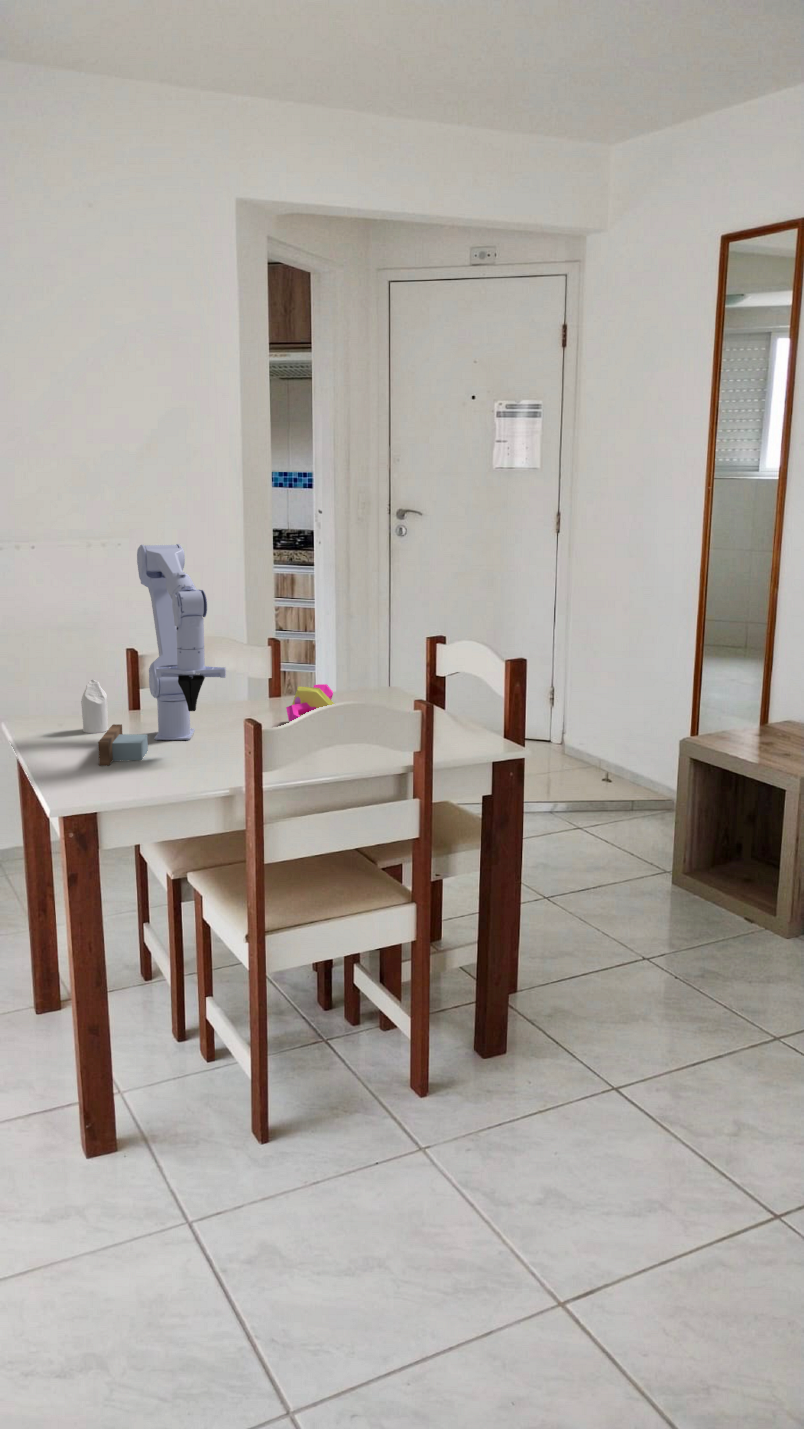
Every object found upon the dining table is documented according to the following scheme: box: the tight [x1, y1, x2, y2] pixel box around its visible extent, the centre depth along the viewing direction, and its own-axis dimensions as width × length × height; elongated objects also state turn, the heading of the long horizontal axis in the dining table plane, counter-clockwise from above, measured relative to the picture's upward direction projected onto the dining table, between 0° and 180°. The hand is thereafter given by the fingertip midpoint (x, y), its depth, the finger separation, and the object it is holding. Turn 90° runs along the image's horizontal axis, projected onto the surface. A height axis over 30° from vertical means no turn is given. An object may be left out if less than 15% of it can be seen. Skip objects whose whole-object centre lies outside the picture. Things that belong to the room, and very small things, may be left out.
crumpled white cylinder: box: [80, 679, 109, 734], centre depth 261 cm, size 6×12×6 cm
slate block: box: [112, 733, 149, 762], centre depth 240 cm, size 8×6×4 cm
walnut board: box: [97, 723, 123, 767], centre depth 239 cm, size 16×2×5 cm, turn 4°
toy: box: [285, 683, 335, 722], centre depth 272 cm, size 10×18×10 cm, turn 160°
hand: (192, 710), depth 241 cm, fingers closed
